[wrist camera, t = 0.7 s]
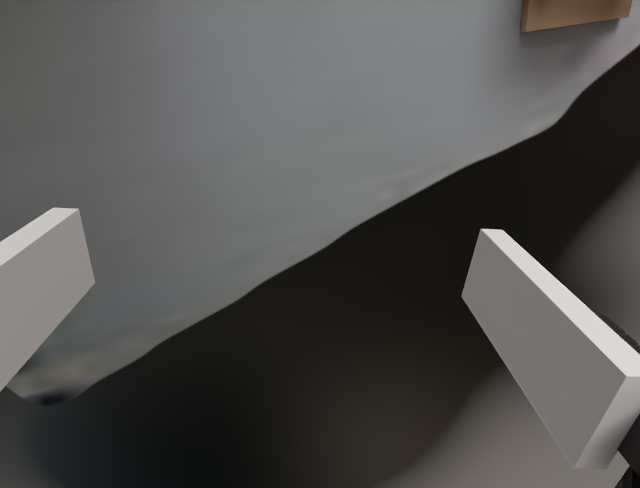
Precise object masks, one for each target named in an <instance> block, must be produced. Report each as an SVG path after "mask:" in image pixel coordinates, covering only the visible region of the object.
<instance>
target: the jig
mask: <svg viewBox="0 0 640 488" xmlns="http://www.w3.org/2000/svg"><path fill="white" fill-rule="evenodd" d="M631 3H632V0H523V8H522V20H521V31H520V32H529V31H536V30H543V29H549V28H556V27H563V26H570V25H577V24H584V23H591V22H598V21H605V20H612V19H619V18H626V17H629V13H630V8H631Z"/></svg>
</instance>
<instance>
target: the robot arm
mask: <svg viewBox="0 0 640 488" xmlns="http://www.w3.org/2000/svg"><path fill="white" fill-rule="evenodd" d="M94 283H95V281H94V276H93V272H92V267H91V262H90V258H89V253H88V249H87V244H86V240H85V235H84V231H83V226H82V222H81V217H80V213H79V209H71V208H52V209H50V210H49V211H47V212H46V213H44V214H43V215H41V216H40V217H38V218H37V219H35V220H33V221H32V222H30V223H29V224H27V225H26V226H24V227H23V228H21V229H20V230H18V231H17V232H15V233H13V234H12V235H10V236H9V237H7V238H6V239H4V240H3V241H1V242H0V391H1V390H2V389H3V388H4V387H5V385H6V384H7V383H8V382H9V381H10V380H11V379H12V377H13V376H14V375H15V374H16V373H17V372H18V371H19V369H20V368H21V367H22V366H23V365H24V364H25V363H26V361H27V360H28V359H29V358H30V357H31V356H32V354H33V353H34V352H35V351H36V350H37V349H38V348H39V346H40V345H41V344H42V343H43V342H44V341H45V340H46V338H47V337H48V336H49V335H50V334H51V333H52V332H53V330H54V329H55V328H56V327H57V326H58V325H59V324H60V322H61V321H62V320H63V319H64V318H65V317H66V315H67V314H68V313H69V312H70V311H71V310H72V309H73V307H74V306H75V305H76V304H77V303H78V302H79V301H80V299H81V298H82V297H83V296H84V295H85V294H86V293H87V291H88V290H89V289H90V288H91V287H92V286H93V285H94ZM462 298H463V299H464V301H465V302H466V304H467V305H468V307H469V309H470V310H471V312H472V313H473V315H474V316H475V318H476V319H477V321H478V322H479V324H480V325H481V327H482V329H483V330H484V332H485V333H486V335H487V336H488V338H489V340H490V341H491V342H492V344H493V346H494V347H495V349H496V350H497V352H498V353H499V355H500V356H501V358H502V360H503V361H504V363H505V364H506V366H507V367H508V369H509V371H510V372H511V374H512V375H513V377H514V378H515V380H516V381H517V383H518V384H519V386H520V388H521V389H522V391H523V392H524V394H525V395H526V397H527V398H528V400H529V402H530V403H531V404H532V406H533V408H534V409H535V411H536V412H537V414H538V415H539V417H540V419H541V420H542V422H543V423H544V425H545V426H546V428H547V429H548V431H549V433H550V434H551V435H552V437H553V439H554V440H555V442H556V443H557V445H558V446H559V448H560V449H561V451H562V453H563V454H564V456H565V457H566V459H567V460H568V462H569V463H570V465H571V467H572V468H573V469H606V468H607V467H608V465H609V464H610V462H611V460H612V459H613V457H614V456H615V454H616V453H617V451H619V452H620V453H621V455H622V456H623V457H624V458H625V460H626V461H627V462H628V464H629V465H630V466H629V468H628V469H627V470H626V472H625V473H624V475H623V476H622V478H621V479H620V481H619V482H618V484H617V485H616V487H615V488H640V346H638V343H637V342H636V341H635V340H633V339H632V338H631V337H630V336H629V335H625V332H624V331H623V330H622V329H621V328H620V327H619V326H618V325H616V324H615V323H614V322H613V321H612V320H611V319H609V318H608V317H606V316H604V315H603V314H601V313H599V312H598V311H596V310H594V309H593V308H591V307H589V306H586V305H585V304H583V303H582V302H581V301H580V300H579V299H578V298H577V297H576V296H575V295H574V294H572V293H571V292H570V291H569V290H568V289H567V288H566V287H565V286H564V285H563V284H561V283H560V282H559V281H558V280H557V279H556V278H555V277H554V276H553V275H551V274H550V273H549V272H548V271H547V270H546V269H545V268H544V267H543V266H542V265H540V264H539V263H538V262H537V261H536V260H535V259H534V258H533V257H532V256H531V255H529V254H528V253H527V252H526V251H525V250H524V249H523V248H522V247H521V246H520V245H518V244H517V243H516V242H515V241H514V240H513V239H512V238H511V237H510V236H508V235H507V234H506V233H505V232H504V231H503V230H492V229H481V230H480V233H479V237H478V240H477V244H476V247H475V251H474V254H473V258H472V261H471V265H470V268H469V273H468V276H467V279H466V283H465V286H464V290H463V293H462Z"/></svg>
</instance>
